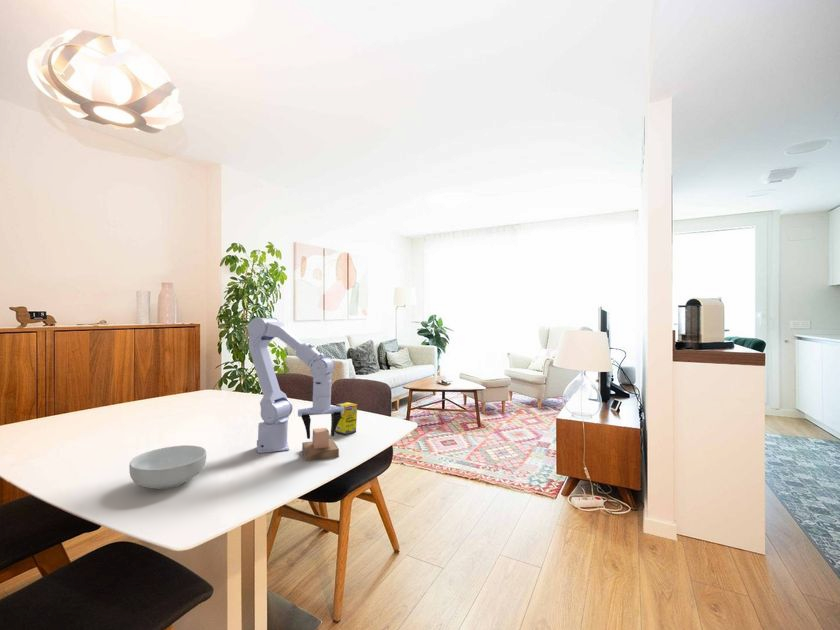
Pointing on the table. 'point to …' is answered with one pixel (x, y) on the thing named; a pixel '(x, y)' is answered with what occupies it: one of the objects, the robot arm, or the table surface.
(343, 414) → the supplement box
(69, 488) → the table surface
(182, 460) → the cereal bowl
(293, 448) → the table surface
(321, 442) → the terracotta block
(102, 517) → the table surface
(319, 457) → the walnut base
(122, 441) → the table surface
